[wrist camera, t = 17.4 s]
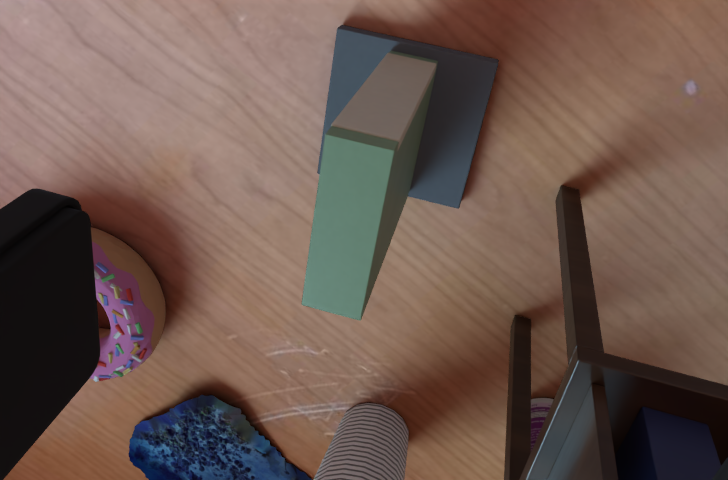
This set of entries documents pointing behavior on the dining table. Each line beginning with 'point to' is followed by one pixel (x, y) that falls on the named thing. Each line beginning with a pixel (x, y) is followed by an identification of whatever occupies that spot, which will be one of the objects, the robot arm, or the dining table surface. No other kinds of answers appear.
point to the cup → (367, 446)
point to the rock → (206, 446)
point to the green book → (366, 183)
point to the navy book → (666, 449)
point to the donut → (125, 306)
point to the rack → (593, 383)
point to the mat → (445, 110)
